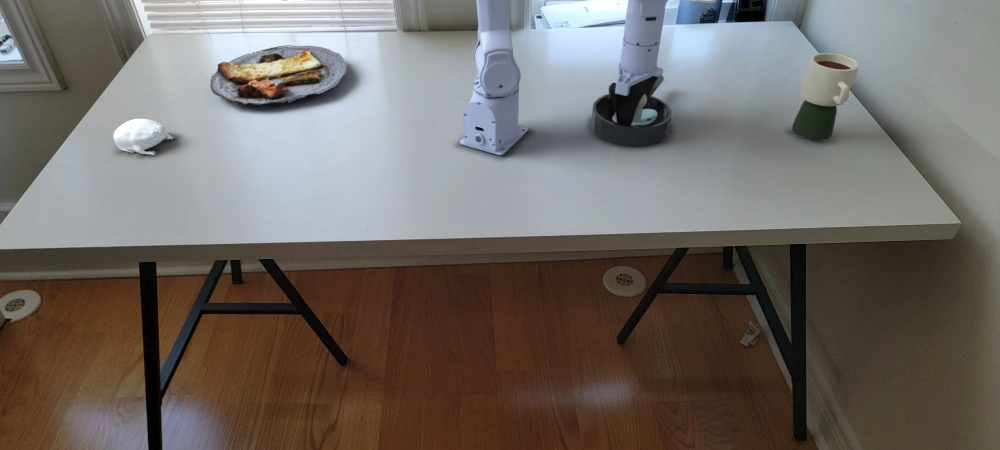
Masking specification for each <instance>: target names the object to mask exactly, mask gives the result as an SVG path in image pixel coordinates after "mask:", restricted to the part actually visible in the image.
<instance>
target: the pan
mask: <svg viewBox="0 0 1000 450" xmlns="http://www.w3.org/2000/svg"><path fill="white" fill-rule="evenodd" d="M644 109H653V110H655V111H656V112H657V118H656V120H655V121H654V122H653V123H651V124H649V125H645V126H642V127H631V126H623V125H619V124H617V123H615V122H614V121H613V120H612V118H613V116H614V115H615V112H616V111H615V106H614V102H613V100H612V97H611V95H610V94H609V93H607V94H604V95H602V96H600V97H598V98H597V99H595V101H594V102H593V103H592V110H591V111H592V113H591V121H590V126H591V130H592V132H593V133H594V134H595V136H597V137H598V138H600V139H601V140H603V141H605V142H608V143H609V144H612V145H616V146H621V147H628V148H642V147H649V146H654V145H657V144H660V143H661V142H663V141H664V140H665V139H666V138H667V137H668V135H669V132H670V127H671V122H672V117H673V113H672V109H671V107H670V106H669V104H668V103H667V102H665V101H663V100H662V99H660V98H658V97H655V96H654V95H652V96H651V95H650V96H649V98H648V101H647V104H646V106H645V108H644ZM650 120H651V119H649V120H647V121H650Z"/></svg>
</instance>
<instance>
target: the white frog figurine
mask: <svg viewBox="0 0 1000 450" xmlns="http://www.w3.org/2000/svg"><path fill="white" fill-rule="evenodd" d="M173 139H176V137H175V136H172V135H170V134H168V132H167V129H166V127H165V126H164V125H163V124H162V123H159V122H158V121H155V120H152V119H148V118H134V119H130V120H127V121H125V122H123V124H120V125H119V126H118V127H117V128H116V129H115V130H114V132H113V141H114V142H115V146H116V147H117V148H119V149H120V150H121V151H123V152H128V153H132V154H133V153H138V154H141V155H152V156H155V154H157V152H156V151H155V150H152V151H151V150H148V151H146V150H147V149H150V148H153V147H155V146H157V145H158V144H161V142H163V141H165V140H167V141H169V140H173Z"/></svg>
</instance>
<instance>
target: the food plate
mask: <svg viewBox="0 0 1000 450" xmlns="http://www.w3.org/2000/svg"><path fill="white" fill-rule="evenodd" d="M347 68H348V65H347V62H346V61H345V59H344V57H343V56H342V55H341V53H340V52H336V51H334V50H332V49H331V48H327V47H322V46H317V45H292V44H287V45H286V44H285V45H279V46H274V47H269V48H264V49H261V50H257V51H253V52H250V53H246V54H242V55H240V56H238V57H235V58H234V59H231V60H230V61H229V62H228V61H221V62H220V63H217V70H216V72H215V73H214V74H213V75H212V76H211V79H210V83H209V87H210V90H211V92H212V93H213V94H214V95H216V96H218V97H220V98H222V99H225V100H226V101H227V102H232V103H237V104H238V106H240V105H244V106H245V105H248V104H252V105H253V106H259V105H263V104H268V105H269V104H271V103H272V104H274V103H275V104H284V103H286V102H287V104H290V103H292V102H294V101H296V100H297V101H298V100H299V99H304V98H306V97H307V96H310V95H311V96H312V95H313V94H314V95H321V94H323V93H325V92H327V91H329V90H331V89H333V88H335V87H336V86H337V85H339V83H340V82H341V81H342V78H343V77H344V75H345V74H346V73H347Z"/></svg>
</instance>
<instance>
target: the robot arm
mask: <svg viewBox="0 0 1000 450" xmlns="http://www.w3.org/2000/svg"><path fill="white" fill-rule="evenodd" d="M475 2H476V12H477V25H478V27H477V43H476V45H475V47H474V50H473V60H474V63H475V65H476V69H477V75H476V77H475V80H474V81H473V91H472V95H471V98H470V100H469V101H468V103H466V105H465V106H464V109H463V137H462V138H461V139H460V140H459V144H460V145H462V146H466V147H468V148H471V149H476V150H479V151H483V152H486V153H489V154H493V155H497V156H501V157H502V156H503V155H505V154H506V153H507V152H508V151H509V150H510V149H511V148H512V147H513V146H514V145H515V144H516V143H517V142H518V141H519V140H520V139H522V137H523V136H524V135H526V133H527V132H529V131H528V129H529V128H527V127H525V126H521V125H519V113H520V112H519V110H520V109H519V106H520V105H519V104H520V83H521V77H522V76H521V75H522V74H521V69H520V67H519V65H518V63H517V62H516V61H517V60H515V59H516V58H515V56H514V47H513V40H512V34H511V26H510V25H511V24H510V23H511V22H510V6H509V5H510V3H509V0H476V1H475ZM668 2H669V0H627V8H626V13H625V21H624V29H623V37H622V46H621V54H620V62H619V63H618V70H617V71H618V72H617V80H616V82H612V83H611V84H610V85H609V86H608V94H610V95H611V97H612V100H613V102H614V106H615V111H616V119H617V124H619V125H623V126H631V124H632V122H633V119H634V116H635V112H636V109H637V106H638V104H639V102H640V100H641V98H642V97H643V95H644V94H645V95H646V97H647V101H648V98H649V96H650V93H651V91H652V88H653V86H654V84H655V82H656V81H657V79H658V77H660V76H661V75H662V76H663V73H664V69H663V68H661V67H658V59H659V51H660V45H661V39H662V34H663V27H664V21H665V16H666V15H665V14H666V5H667V3H668ZM646 104H647V102H646ZM646 104H645V106H646ZM645 106H644V107H643V109H644V108H645Z"/></svg>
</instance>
